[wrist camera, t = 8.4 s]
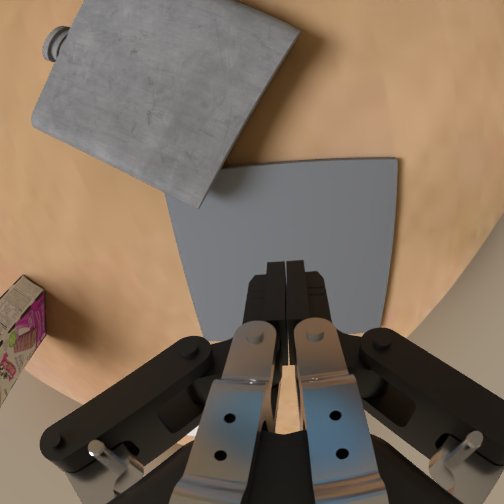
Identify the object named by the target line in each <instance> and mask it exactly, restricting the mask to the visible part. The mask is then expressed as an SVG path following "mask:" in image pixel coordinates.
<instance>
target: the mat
mask: <svg viewBox="0 0 504 504" xmlns="http://www.w3.org/2000/svg"><path fill="white" fill-rule="evenodd" d="M397 172H398V159H396V158H394V157H372V158H335V159H314V160H298V161H284V162H272V163H261V164H251V165H241V166H232V167H224V168H221V170H220V172H219V173H218V175H217V177H216V179H215V181H214V183H213V185H212V186H211V188H210V190H209V192H208V194H207V196H206V198H205V200H204V201H203V203H202V205H201V207H200V208H199V209H196V208H194V207H192V206H190V205H188V204H187V203H185V202H183V201H181V200H179V199H177V198H175V197H173V196H171V195H169V194H167V193H165V197H166V201H167V206H168V210H169V214H170V218H171V222H172V226H173V231H174V235H175V239H176V242H177V246H178V250H179V254H180V258H181V262H182V265H183V269H184V273H185V276H186V280H187V283H188V287H189V290H190V294H191V297H192V301H193V304H194V308H195V311H196V314H197V317H198V321H199V324H200V327H201V330H202V334H203V337H204V338H205V339H206V340H207V341H226V340H228V339H231V338H232V337H233V336H234V333H235V331H236V330H237V329H238V328H239V327H240V326H241V325H242V323H243V316H244V310H245V304H246V300H247V298H246V297H247V293H248V285H249V282H250V281H251V279H252V278H253V277H254V276H255V275H261V274H266V270H267V262H278V261H285V270H286V261H293V260H304V267H305V272H310V271H318V272H319V274H320V275H321V276H322V277H323V278H324V282H325V288H326V292H327V298H328V303H329V308H330V314H331V320H332V323H333V324H334V326H335V327H336V328H337V329H338V330H339V331H341V332H343V333H345V334H355V333H364V332H367V331H368V330H370V329H373V328H380V324H381V319H382V314H383V308H384V303H385V297H386V291H387V284H388V278H389V271H390V263H391V255H392V246H393V236H394V226H395V213H396V197H397ZM286 283H287V273H286Z"/></svg>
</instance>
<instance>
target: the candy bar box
mask: <svg viewBox="0 0 504 504" xmlns="http://www.w3.org/2000/svg"><path fill="white" fill-rule="evenodd" d="M45 336H46V322H45V290H44V289H43V288H42V287H40V286H39V285H37V284H35V283H34V282H32V281H31V280H29V279H28V278H26V277H25V276H23V275H22V276H21V277H20V278H19V279H18V280H17V281H16V282H15V283H14V284H13V285H12V286H11V287H10V288H9V289H8V290H7V291H6V292H5V293H4V294H3V295H2V296H1V297H0V407H1V405H2V404H3V402H4V400H5V398H6V397H7V395H8V393H9V392H10V390H11V388H12V387H13V385H14V383H15V382H16V380H17V378H18V377H19V375H20V373H21V372H22V370H23V369H24V367H25V366H26V364H27V363H28V361H29V360H30V358H31V357H32V355H33V354H34V352H35V351H36V349H37V348H38V346H39V345H40V343H41V342H42V341H43V339H44V338H45Z"/></svg>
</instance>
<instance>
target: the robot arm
mask: <svg viewBox="0 0 504 504" xmlns="http://www.w3.org/2000/svg"><path fill="white" fill-rule="evenodd" d="M286 273H287V283H286ZM246 298H247V300H246V304H245V310H244V316H243V323H242V325H241V326H240V327H239V328H238V329H237V330H236V331H235V333H234V336H233V337H232V338H231V339H228V340H226V341H223V342H219V343H215V344H211V345H210V343H209V342H208V341H207V340H206V339H205V338H203V337H199V336H189V337H185V338H182V339H180V340H179V341H177V342H176V343H174V344H173V345H171V346H170V347H169V348H167V349H166V350H164V351H163V352H161V353H160V354H158V355H157V356H156V357H154V358H153V359H151V360H150V361H148V362H147V363H145V364H144V365H142V366H141V367H140V368H138V369H137V370H135V371H134V372H132V373H131V374H129V375H128V376H126V377H125V378H123V379H122V380H120V381H119V382H117V383H116V384H114V385H113V386H111V387H110V388H108V389H107V390H105V391H104V392H102V393H101V394H99V395H98V396H96V397H95V398H93V399H92V400H90V401H89V402H87V403H86V404H84V405H83V406H81V407H80V408H78V409H76V410H75V411H73V412H72V413H70V414H69V415H67V416H66V417H64V418H62V419H61V420H59V421H58V422H56V423H55V424H53V425H51V426H50V427H48V428H47V429H46V430H45V431H44V433H43V434H42V436H41V440H40V450H41V452H42V454H43V455H44V457H46V458H47V459H48V460H50V461H51V462H53V463H54V464H55V465H56V466H58V467H59V468H60V469H61V470H62V471H64V472H65V473H66V475H67V477H68V479H69V481H70V482H71V484H72V486H73V488H74V490H75V491H76V493H77V495H78V497H79V498H80V500H81V502H82V503H83V504H483V502H484V501H485V499H486V498H487V496H488V495H489V493H490V492H491V490H492V489H493V487H494V485H495V484H496V482H497V481H498V479H499V477H500V475H501V474H502V472H503V470H504V400H503V399H501V398H500V397H498V396H497V395H495V394H493V393H492V392H490V391H489V390H487V389H486V388H484V387H482V386H481V385H479V384H478V383H476V382H475V381H473V380H471V379H470V378H468V377H467V376H465V375H464V374H462V373H460V372H459V371H457V370H456V369H454V368H452V367H451V366H449V365H448V364H446V363H444V362H443V361H441V360H440V359H438V358H436V357H435V356H433V355H431V354H430V353H428V352H427V351H425V350H424V349H422V348H420V347H419V346H417V345H416V344H414V343H412V342H411V341H409V340H408V339H406V338H404V337H403V336H401V335H400V334H398V333H396V332H395V331H393V330H391V329H388V328H373V329H370V330H368V331H367V332H366V333H364V335H363V336H362V337H359V336H353V335H348V334H345V333H343V332H341V331H339V330H338V329H337V328H336V327H335V326H334V324H333V323H332V320H331V314H330V308H329V303H328V298H327V292H326V288H325V282H324V278H323V277H322V276H321V275H320V274H319V272H318V271H310V272H305V267H304V260H293V261H286V270H285V261H278V262H267V270H266V274H261V275H255V276H254V277H253V278H252V279H251V281H250V282H249V285H248V293H247V297H246ZM288 339H289V357H290V365H295V382H296V392H297V402H298V411H299V421H300V431H298V432H294V433H290V434H285V435H282V434H276V433H275V427H276V418H277V411H278V403H279V395H280V387H281V378H282V366H284V365H288ZM364 409H365V410H366V411H367V412H368V413H370V414H371V415H372V416H373V417H375V418H376V419H377V420H379V421H380V422H381V423H382V424H384V425H385V426H386V427H388V428H389V429H390V430H391V431H393V432H394V433H395V434H397V435H398V436H399V437H400V438H402V439H403V440H404V441H406V442H407V443H408V444H410V445H411V446H412V447H414V448H415V449H416V450H418V451H419V452H420V453H422V454H423V455H425V456H426V457H427V458H429V459H430V461H429V472H430V475H431V476H432V478H433V479H434V480H435V481H436V482H437V483H436V482H435V481H434V480H433V479H431V478H430V477H429V476H428V475H426V474H425V473H424V472H423V471H421V470H420V469H419V468H417V467H416V466H415V465H414V464H413V463H412V462H410V461H409V460H408V459H407V458H406V457H404V456H403V455H402V454H401V453H400V452H398V451H397V450H396V449H395V448H394V447H392V446H391V445H390V444H389V443H387V442H386V441H384V440H383V439H381V438H379V437H377V436H375V435H372V434H370V432H369V428H368V424H367V420H366V416H365V412H364ZM198 425H199V427H198V430H197V433H196V436H195V440H193V441H191V442H189V443H187V444H186V445H184V446H183V447H181V448H180V449H179V450H177V451H176V452H175V453H174V454H173V455H171V456H170V457H169V458H168V459H166V460H165V461H164V462H162V463H161V464H160V465H159V466H157V467H156V468H155V469H153V470H152V471H151V472H150V473H148V474H147V475H146V476H144V477H143V474H144V468H143V467H144V466H145V465H147V464H148V463H150V462H151V461H152V460H154V459H155V458H157V457H158V456H159V455H161V454H162V453H163V452H165V451H166V450H167V449H169V448H170V447H171V446H173V445H174V444H175V443H177V442H178V441H179V440H181V439H182V438H183V437H184V436H186V435H187V434H188V433H190V432H191V431H192V430H193V429H195V428H196V427H197V426H198Z"/></svg>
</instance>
